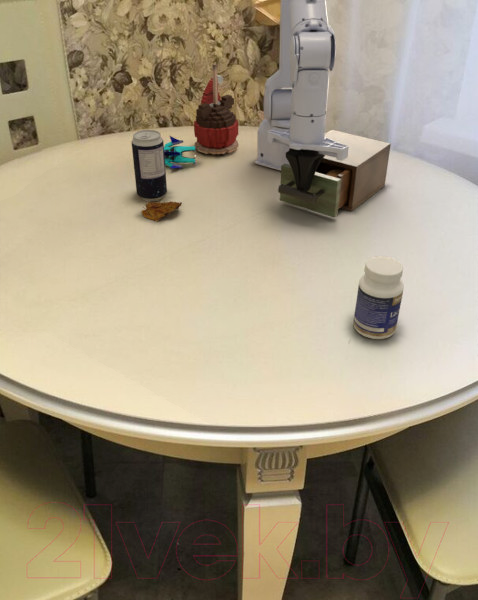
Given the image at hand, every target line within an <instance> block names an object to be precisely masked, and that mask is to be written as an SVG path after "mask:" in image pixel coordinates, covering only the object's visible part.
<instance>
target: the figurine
mask: <svg viewBox="0 0 478 600" xmlns="http://www.w3.org/2000/svg"><path fill="white" fill-rule="evenodd" d="M169 139H170V141H169V142H167V143H165V144H164V156H165V166H167V167H169V169H180V170H181V169H185V168H184V166H183V165H181V164H189V163H190V164H193V165H196V164H197V162H196V161H197V160H196V158H197V155H196V154H195V155H194V156H193V157H188V156H184V155H183V153H186V152H187V153H188V152H196V149H195V145H193V146H192V145H191V146H190V145H189V146H188V145H180V144H183V143H184V140H182V139H177V138H176V137H173V136H171V135H169Z"/></svg>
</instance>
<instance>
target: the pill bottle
mask: <svg viewBox="0 0 478 600" xmlns="http://www.w3.org/2000/svg"><path fill="white" fill-rule="evenodd" d="M364 264H365V265H364V268H363V269H364V271H363V272H364V273H363V274H362V275H361V276H360V277H359V281H358V287H357V295H356V300H355V307H354V308H355V309H354V314H353V323H352V324H353V327H354V329H355V331H356V332H357V333H358V334H360V335H361V336H363V337H366V338H368V339H373V340H384V339H387V338H390V337H391V336H393V335H394V334H395V333H396V331H397V326H398V320H399V316H400V309H401V305H402V299H403V295H404V282H403V280H402V278H403V272H404V266H403V264H402V263H401V262H400V261H399V260H398V259H396V258H393V257H389V256H385V255H384V256H383V255H381V256H380V255H379V256H372V257H369V258H368V259H367V260H366V262H365V263H364Z"/></svg>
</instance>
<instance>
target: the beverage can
mask: <svg viewBox="0 0 478 600" xmlns="http://www.w3.org/2000/svg"><path fill="white" fill-rule="evenodd" d="M130 143H131V151H132V161H133V170H134V180H135V189H136V195H137V196H138V197H139V198H141V200H143V201H146V202H156V201H157V202H158V201H160V200H162V199H163V198H164V196H165V195H167V194H168V185H167V171H166V165H165V156H164V146H165V144H164V139H163V137H162V134H161V132H160V131H158V130H154V129H142V130H138V131H136V132H134V133H133V134H132V140H131V142H130Z"/></svg>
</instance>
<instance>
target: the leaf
mask: <svg viewBox="0 0 478 600" xmlns="http://www.w3.org/2000/svg"><path fill="white" fill-rule="evenodd" d="M182 204H183V202H182V201H181V202H176V201H167V202H165V201H164V202H163V201H162V202H161V201H157V202H156V201H147V203H146V204H145V207H144V206H142V208H144V209H142V210H141V214H142V217H144V218H145V219H149V220H150V221H156V222H159V221H160V220H161V219H162V217H167V216H168V215H169V214H171V213H172V212H174V211H176V210H177V211H178V210H179V208H180V207H181V206H182Z"/></svg>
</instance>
